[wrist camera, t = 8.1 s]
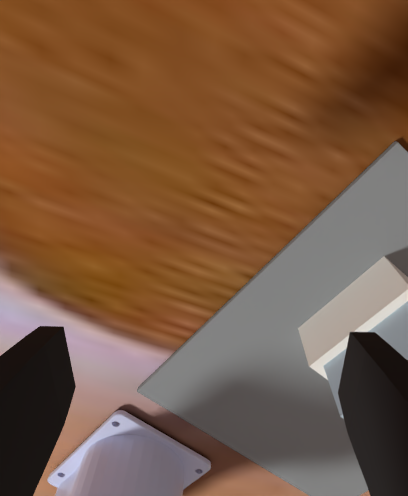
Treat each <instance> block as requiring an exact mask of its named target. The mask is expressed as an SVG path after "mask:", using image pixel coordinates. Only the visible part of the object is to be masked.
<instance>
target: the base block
mask: <svg viewBox="0 0 408 496" xmlns="http://www.w3.org/2000/svg"><path fill="white" fill-rule="evenodd" d="M407 301H408V277H407V276H406V275H405V274H404V273H403V272H401V271H400V270H399V269H398V268H397V267H396V266H395V265H394V264H392V263H391V262H390V261H389V260H388V259H387V258H386V257H385V256H383V257H382V258H381V259H380V260H379V261H378V262H376V263H375V264H374V265H373V266H372V267H370V268H369V269H368V270H367V271H366V272H364V273H363V274H362V275H361V276H360V277H358V278H357V279H356V280H355V281H354V282H352V283H351V284H350V285H349V286H348V287H347V288H345V289H344V290H343V291H342V292H341V293H339V294H338V295H337V296H336V297H335V298H333V299H332V300H331V301H330V302H329V303H327V304H326V305H325V306H324V307H323V308H322V309H320V310H319V311H318V312H317V313H316V314H314V315H313V316H312V317H311V318H310V319H308V320H307V321H306V322H305V323H304V324H302V325H301V326H300V327H299V328H298V330H299V334H300V337H301V340H302V344H303V347H304V351H305V354H306V358H307V361H308V365H309V367H311V368H312V369H313V370H315V371H316V372H317V373H319V374H320V375H322V376H323V377H324V378H326V379H327V380H328V378H327V375H326V372H325V369H324V367H323V366H324V365H325V364H327V363H328V362H329V361H331V360H332V359H333V358H334V357H336V356H337V355H338V354H340V353H341V352H342V351H344V350H345V349H346V348H347V344H348V339H349V334H350V332H368V331H370V330H371V329H372V328H374V327H375V326H376V325H377V324H379V323H380V322H381V321H383V320H384V319H385V318H387V317H388V316H389V315H390V314H392V313H393V312H394V311H396V310H397V309H398V308H400V307H401V306H402V305H404V304H405V303H406V302H407Z"/></svg>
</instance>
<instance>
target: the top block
mask: <svg viewBox="0 0 408 496" xmlns="http://www.w3.org/2000/svg"><path fill="white" fill-rule="evenodd" d="M368 332H375V333H376V334H378V335H379V336H380V337H381V338H383V339H384V340H385V341H386V342H387V343H388V344H389V345H391V346H392V347H393V348H394V349H395V350H396V351H397V352H399V353H400V354H401V355H402V356H403V357H404V358H405V359H406V360H408V301H407V302H406V303H405V304H404V305H402V306H401V307H400V308H398V309H397V310H396V311H394V312H393V313H392V314H390V315H389V316H388V317H387V318H385V319H384V320H383V321H381V322H380V323H379V324H377V325H376V326H375V327H374V328H372V329H371V330H370V331H368ZM346 349H347V348H346ZM346 349H345V350H344V351H342V352H341V353H340V354H338V355H337V356H336V357H334V358H333V359H332V360H331V361H329V362H328V363H327V364H325V365H324V366H323V367H324V369H325V372H326V375H327V378H328V381H329V384H330V387H331V390H332V393H333V396H334V399H335V402H336V405H337V408H338V411H339V414H340V417H342V418H343V419H344V417H343V413H342V409H341V404H340V400H339V396H338V389H339V384H340V379H341V374H342V369H343V364H344V359H345V354H346Z"/></svg>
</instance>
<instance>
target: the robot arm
mask: <svg viewBox="0 0 408 496" xmlns="http://www.w3.org/2000/svg"><path fill="white" fill-rule="evenodd" d="M75 387H76V386H75V381H74V377H73V372H72V367H71V362H70V357H69V352H68V347H67V342H66V337H65V332H64V327H51V326H40V327H38V328H37V329H35V330H34V331H33V332H31V333H30V334H28V335H27V336H26V337H24V338H23V339H22V340H21V341H19V342H18V343H17V344H15V345H14V346H13V347H11V348H10V349H9V350H8V351H6V352H5V353H4V354H2V355H1V356H0V496H33V494H34V492H35V490H36V487H37V485H38V483H39V481H40V478H41V476H42V474H43V472H44V470H45V467H46V465H47V463H48V461H49V458H50V456H51V454H52V452H53V449H54V447H55V445H56V442H57V440H58V438H59V436H60V433H61V431H62V428H63V426H64V423H65V420H66V417H67V414H68V411H69V408H70V404H71V401H72V397H73V394H74V390H75ZM338 396H339V400H340V404H341V409H342V413H343V417H344V421H345V425H346V429H347V433H348V436H349V438H350V441H351V444H352V447H353V449H354V452H355V455H356V458H357V460H358V463H359V466H360V468H361V471H362V474H363V476H364V479H365V482H366V484H367V487H368V490H369V492H370V495H371V496H408V360H406V359H405V358H404V357H403V356H402V355H401V354H400V353H399V352H397V351H396V350H395V349H394V348H393V347H392V346H391V345H389V344H388V343H387V342H386V341H385V340H384V339H383V338H381V337H380V336H379V335H378V334H376V333H375V332H350V334H349V339H348V344H347V349H346V354H345V359H344V364H343V369H342V374H341V379H340V384H339V389H338ZM116 421H117V422H116ZM210 469H211V462H210V461H209V460H208V459H206V458H205V457H203V456H201V455H199V454H198V453H196V452H194V451H193V450H191V449H189V448H187V447H186V446H184V445H182V444H181V443H179V442H177V441H175V440H174V439H172V438H170V437H169V436H167V435H165V434H163V433H162V432H160V431H158V430H157V429H155V428H153V427H151V426H150V425H148V424H146V423H145V422H143V421H141V420H139V419H138V418H136V417H134V416H132V415H131V414H129V413H127V412H126V411H123V410H118V411H116V412H114V413H113V414H112V415H111V416H110V417H109V418H108V419H107V420H106V421H105V422H104V423H103V424H102V425H101V426H100V427H99V428H98V429H97V430H96V431H94V432H93V433H92V434H91V435H90V436H89V437H88V438H87V439H86V440H85V441H84V442H83V443H82V444H81V445H80V446H79V447H78V448H77V449H76V450H75V451H74V452H72V453H71V454H70V455H69V456H68V457H67V458H66V459H65V460H64V461H63V462H62V463H61V464H60V465H59V466H58V467H57V468H56V469H55V470H54V471H53V472H52V473H51V474H50V475H49V477H48V482H49V483H50V484H51V485H53V486H55V487H57V488H58V489H57V492H56V495H55V496H183V490H184V489H185V488H186V487H188V486H189V485H190V484H192V483H193V482H194V481H196V480H197V479H198V478H200V477H201V476H202V475H204V474H205V473H206V472H208V471H209V470H210Z"/></svg>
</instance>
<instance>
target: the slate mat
mask: <svg viewBox="0 0 408 496" xmlns="http://www.w3.org/2000/svg"><path fill="white" fill-rule="evenodd" d="M383 256H385V257H386V258H387V259H388V260H389V261H390V262H391V263H392V264H394V265H395V266H396V267H397V268H398V269H399V270H400V271H401V272H403V273H404V274H405V275H406V276H407V277H408V152H407V151H406V150H405V149H404V148H403V147H402V146H401V145H400V144H399V143H398V142H396V141H395V142H394V143H393V144H391V145H390V146H389V147H388V148H387V149H386V150H385V151H384V152H383V153H382V154H381V155H380V156H379V157H378V158H377V159H376V160H375V161H374V162H373V163H372V164H371V165H370V166H369V167H367V168H366V169H365V170H364V171H363V172H362V173H361V174H360V175H359V176H358V177H357V178H356V179H355V180H354V181H353V182H352V183H351V184H350V185H349V186H348V187H347V188H346V189H345V190H344V191H342V192H341V193H340V194H339V195H338V196H337V197H336V198H335V199H334V200H333V201H332V202H331V203H330V204H329V205H328V206H327V207H326V208H325V209H324V210H323V211H322V212H321V213H320V214H318V215H317V216H316V217H315V218H314V219H313V220H312V221H311V222H310V223H309V224H308V225H307V226H306V227H305V228H304V229H303V230H302V231H301V232H300V233H299V234H298V235H297V236H296V237H295V238H293V239H292V240H291V241H290V242H289V243H288V244H287V245H286V246H285V247H284V248H283V249H282V250H281V251H280V252H279V253H278V254H277V255H276V256H275V257H274V258H273V259H272V260H271V261H269V262H268V263H267V264H266V265H265V266H264V267H263V268H262V269H261V270H260V271H259V272H258V273H257V274H256V275H255V276H254V277H253V278H252V279H251V280H250V281H249V282H248V283H247V284H246V285H244V286H243V287H242V288H241V289H240V290H239V291H238V292H237V293H236V294H235V295H234V296H233V297H232V298H231V299H230V300H229V301H228V302H227V303H226V304H225V305H224V306H223V307H222V308H220V309H219V310H218V311H217V312H216V313H215V314H214V315H213V316H212V317H211V318H210V319H209V320H208V321H207V322H206V323H205V324H204V325H203V326H202V327H201V328H200V329H199V330H198V331H196V332H195V333H194V334H193V335H192V336H191V337H190V338H189V339H188V340H187V341H186V342H185V343H184V344H183V345H182V346H181V347H180V348H179V349H178V350H177V351H176V352H175V353H174V354H173V355H171V356H170V357H169V358H168V359H167V360H166V361H165V362H164V363H163V364H162V365H161V366H160V367H159V368H158V369H157V370H156V371H155V372H154V373H153V374H152V375H151V376H150V377H149V378H147V379H146V380H145V381H144V382H143V383H142V384H141V385H140V386H139V387H138V389H137V392H139V393H140V394H142V395H144V396H145V397H147V398H149V399H150V400H152V401H154V402H155V403H157V404H159V405H160V406H162V407H164V408H165V409H167V410H169V411H170V412H172V413H174V414H175V415H177V416H178V417H180V418H182V419H183V420H185V421H187V422H188V423H190V424H192V425H193V426H195V427H197V428H198V429H200V430H202V431H203V432H205V433H207V434H208V435H210V436H212V437H213V438H215V439H217V440H218V441H220V442H222V443H223V444H225V445H226V446H228V447H230V448H231V449H233V450H235V451H236V452H238V453H240V454H241V455H243V456H245V457H246V458H248V459H250V460H251V461H253V462H255V463H256V464H258V465H260V466H261V467H263V468H265V469H266V470H268V471H269V472H271V473H273V474H274V475H276V476H278V477H279V478H281V479H283V480H284V481H286V482H288V483H289V484H291V485H293V486H294V487H296V488H298V489H299V490H301V491H303V492H304V493H306V494H308V495H309V496H359V495H361V494H363V493H365V492H366V491H368V487H367V484H366V482H365V479H364V476H363V474H362V471H361V468H360V466H359V463H358V460H357V458H356V455H355V452H354V449H353V447H352V444H351V441H350V438H349V436H348V433H347V429H346V425H345V421H344V419H343V418H342V417H340V414H339V411H338V408H337V405H336V402H335V399H334V396H333V393H332V390H331V387H330V384H329V381H328V380H327V379H326V378H324V377H323V376H322V375H320V374H319V373H317V372H316V371H315V370H313V369H312V368H311V367H309V365H308V361H307V358H306V354H305V351H304V347H303V344H302V340H301V337H300V334H299V330H298V328H299V327H300V326H301V325H302V324H304V323H305V322H306V321H307V320H308V319H310V318H311V317H312V316H313V315H314V314H316V313H317V312H318V311H319V310H320V309H322V308H323V307H324V306H325V305H326V304H327V303H329V302H330V301H331V300H332V299H333V298H335V297H336V296H337V295H338V294H339V293H341V292H342V291H343V290H344V289H345V288H347V287H348V286H349V285H350V284H351V283H352V282H354V281H355V280H356V279H357V278H358V277H360V276H361V275H362V274H363V273H364V272H366V271H367V270H368V269H369V268H370V267H372V266H373V265H374V264H375V263H376V262H378V261H379V260H380V259H381V258H382V257H383Z"/></svg>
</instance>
